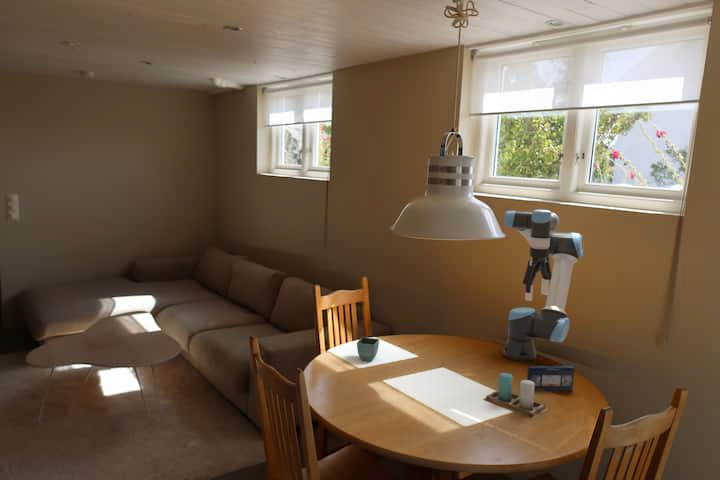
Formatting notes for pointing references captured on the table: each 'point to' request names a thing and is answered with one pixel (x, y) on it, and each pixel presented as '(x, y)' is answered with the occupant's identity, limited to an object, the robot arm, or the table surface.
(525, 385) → the white cylinder
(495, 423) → the table surface
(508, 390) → the teal rounded cylinder
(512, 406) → the rack
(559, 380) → the vhs cassette tape
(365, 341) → the flower pot
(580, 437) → the table surface
